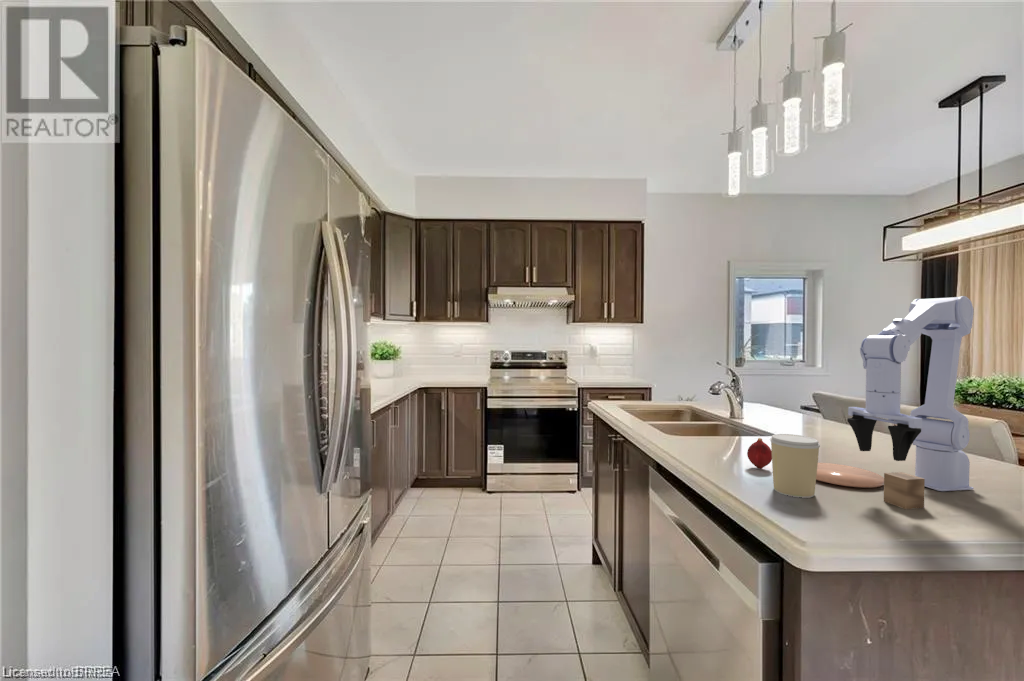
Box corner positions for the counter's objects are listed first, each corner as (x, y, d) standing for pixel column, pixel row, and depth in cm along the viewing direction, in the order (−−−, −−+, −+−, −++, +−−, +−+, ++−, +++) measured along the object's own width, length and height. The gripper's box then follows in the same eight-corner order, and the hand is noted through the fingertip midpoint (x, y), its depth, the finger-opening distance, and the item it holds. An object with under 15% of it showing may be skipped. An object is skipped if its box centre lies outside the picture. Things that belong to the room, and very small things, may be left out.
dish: (838, 467, 121) (838, 461, 121) (903, 488, 104) (904, 481, 104) (782, 469, 118) (782, 463, 118) (840, 491, 101) (840, 485, 101)
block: (901, 500, 96) (902, 472, 96) (924, 508, 92) (924, 478, 92) (883, 501, 96) (884, 472, 96) (905, 509, 91) (906, 479, 91)
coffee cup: (814, 488, 103) (815, 436, 103) (823, 502, 95) (824, 444, 95) (767, 482, 107) (768, 432, 107) (771, 495, 99) (772, 440, 98)
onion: (775, 472, 115) (776, 441, 115) (751, 471, 116) (751, 440, 116) (767, 466, 121) (768, 436, 121) (744, 464, 122) (744, 435, 122)
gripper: (836, 387, 103) (835, 447, 103) (901, 396, 88) (899, 465, 88) (863, 387, 104) (862, 446, 104) (931, 395, 89) (930, 464, 89)
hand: (881, 455), depth 96 cm, fingers open, 7 cm apart
